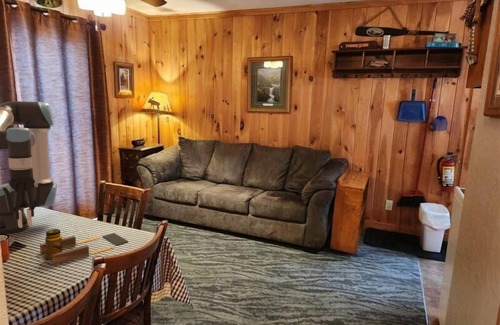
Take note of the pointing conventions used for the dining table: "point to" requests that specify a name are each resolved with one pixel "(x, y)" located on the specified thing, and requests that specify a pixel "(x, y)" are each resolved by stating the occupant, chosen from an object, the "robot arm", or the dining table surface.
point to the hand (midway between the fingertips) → (25, 225)
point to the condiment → (52, 244)
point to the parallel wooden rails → (68, 254)
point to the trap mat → (115, 239)
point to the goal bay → (97, 250)
